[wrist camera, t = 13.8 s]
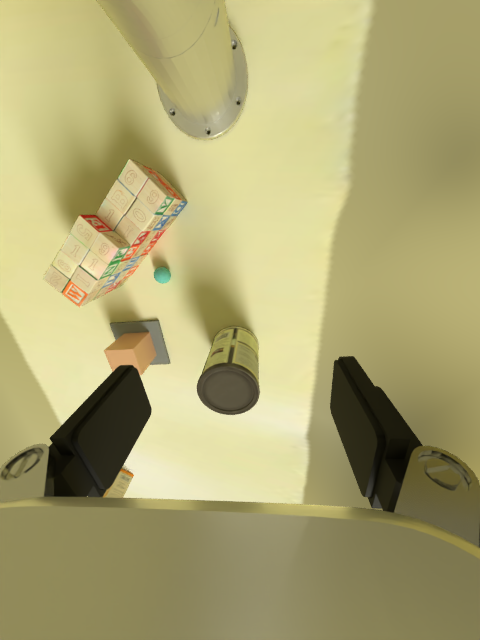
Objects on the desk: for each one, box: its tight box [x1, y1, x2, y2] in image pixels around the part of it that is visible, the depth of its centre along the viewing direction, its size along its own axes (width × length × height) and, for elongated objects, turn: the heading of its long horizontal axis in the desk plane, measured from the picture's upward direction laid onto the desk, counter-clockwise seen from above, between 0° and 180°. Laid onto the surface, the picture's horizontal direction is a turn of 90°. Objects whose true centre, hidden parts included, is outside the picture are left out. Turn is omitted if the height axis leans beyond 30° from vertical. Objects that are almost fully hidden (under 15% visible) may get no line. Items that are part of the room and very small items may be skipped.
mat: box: [110, 320, 170, 365], centre depth 50 cm, size 11×11×1 cm
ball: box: [154, 267, 171, 283], centre depth 41 cm, size 3×3×3 cm
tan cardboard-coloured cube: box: [104, 332, 156, 375], centre depth 46 cm, size 6×6×7 cm
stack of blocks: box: [43, 159, 187, 307], centre depth 35 cm, size 21×6×12 cm, turn 135°
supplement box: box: [103, 469, 134, 498], centre depth 67 cm, size 8×5×13 cm, turn 142°
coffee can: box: [197, 326, 260, 415], centre depth 42 cm, size 10×10×14 cm
